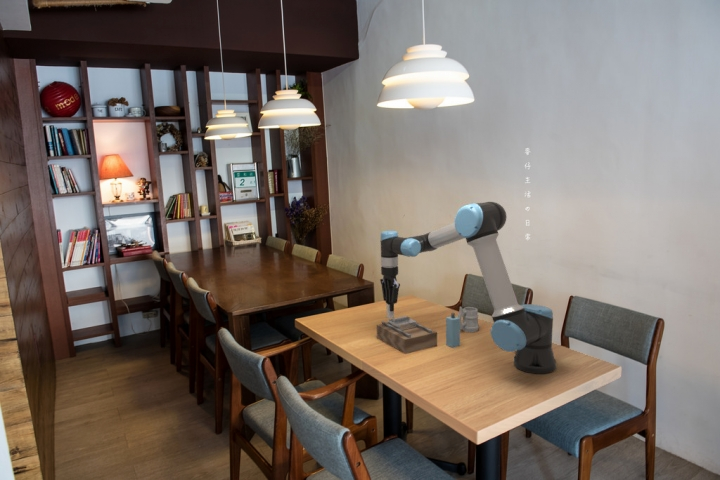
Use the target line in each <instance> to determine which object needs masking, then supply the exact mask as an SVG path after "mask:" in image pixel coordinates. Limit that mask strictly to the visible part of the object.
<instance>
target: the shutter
mask: <svg viewBox="0 0 720 480" xmlns="http://www.w3.org/2000/svg"><path fill="white" fill-rule="evenodd" d="M387 323H388V324H390V325H392V326H394V327H396V328H398V329H400V330H405V329H410V328H414V327H417V323H418V321H416V320H415V319H412V318H411V317H410V316H406V315H404V316H398V317H394V318H388V319H387Z"/></svg>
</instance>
